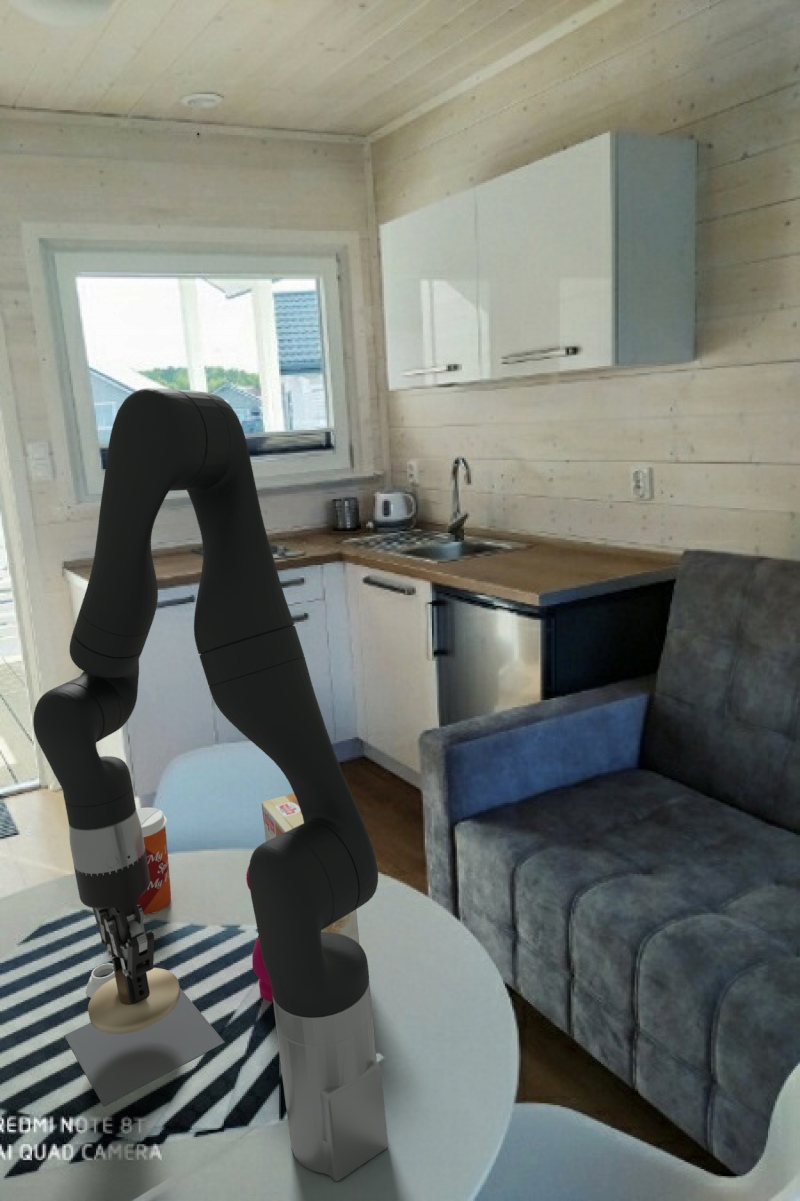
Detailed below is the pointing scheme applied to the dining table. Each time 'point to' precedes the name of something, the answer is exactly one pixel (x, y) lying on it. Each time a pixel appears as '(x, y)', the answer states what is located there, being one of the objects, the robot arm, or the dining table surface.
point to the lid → (122, 1016)
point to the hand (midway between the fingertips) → (133, 990)
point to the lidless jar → (98, 982)
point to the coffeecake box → (285, 817)
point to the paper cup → (155, 860)
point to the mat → (142, 1050)
